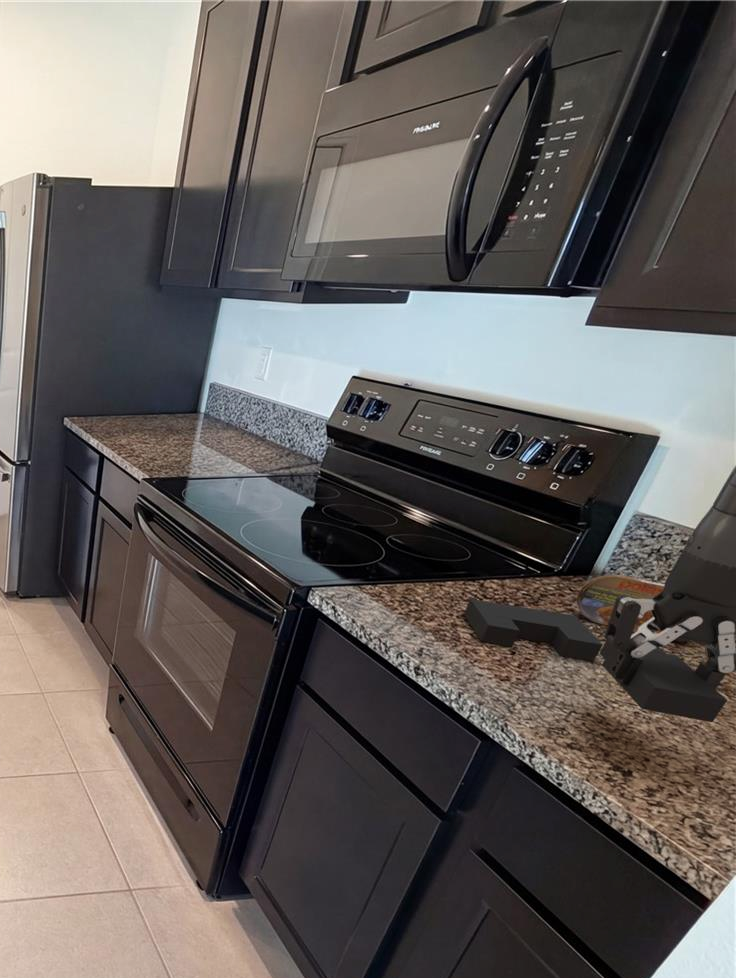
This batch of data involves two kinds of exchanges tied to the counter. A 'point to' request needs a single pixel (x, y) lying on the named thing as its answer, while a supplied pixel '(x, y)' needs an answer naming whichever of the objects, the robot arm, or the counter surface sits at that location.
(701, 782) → the counter surface
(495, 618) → the notch pad
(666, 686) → the pad
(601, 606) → the tin
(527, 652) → the counter surface
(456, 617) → the counter surface
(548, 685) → the counter surface
